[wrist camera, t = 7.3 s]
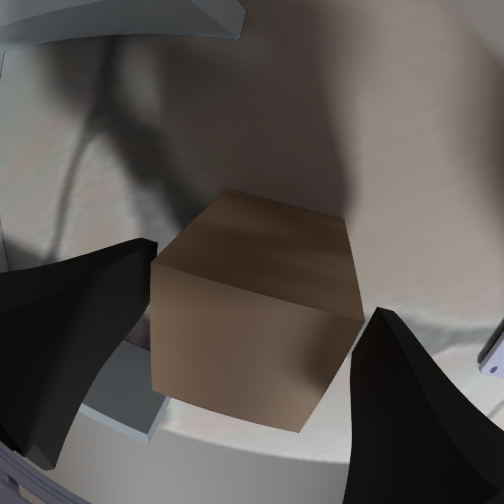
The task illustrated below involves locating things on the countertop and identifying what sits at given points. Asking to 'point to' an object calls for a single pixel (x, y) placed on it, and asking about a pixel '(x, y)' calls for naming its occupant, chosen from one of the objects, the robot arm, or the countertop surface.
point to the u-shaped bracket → (101, 24)
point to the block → (254, 310)
